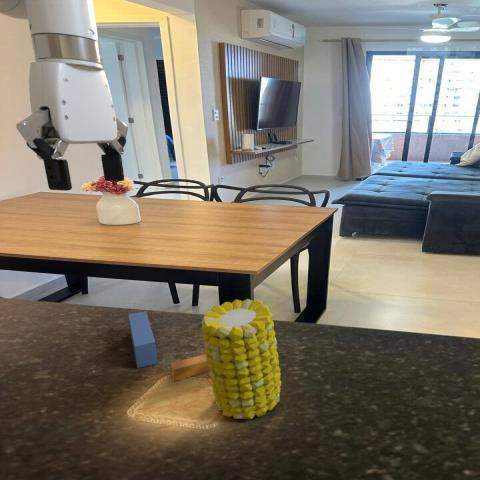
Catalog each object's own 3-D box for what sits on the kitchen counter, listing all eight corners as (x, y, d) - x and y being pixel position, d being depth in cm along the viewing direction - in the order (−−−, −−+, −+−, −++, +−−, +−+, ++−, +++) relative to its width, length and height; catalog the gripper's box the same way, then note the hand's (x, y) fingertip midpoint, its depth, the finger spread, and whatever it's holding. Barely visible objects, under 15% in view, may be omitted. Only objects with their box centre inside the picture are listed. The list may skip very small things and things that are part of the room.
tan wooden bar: (174, 381, 58) (172, 370, 57) (171, 374, 59) (170, 363, 59) (249, 359, 64) (249, 349, 63) (245, 353, 65) (245, 343, 65)
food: (285, 425, 52) (209, 437, 50) (277, 359, 62) (213, 367, 60) (282, 343, 44) (193, 354, 43) (274, 284, 54) (201, 290, 53)
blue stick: (157, 363, 62) (155, 341, 61) (137, 368, 61) (134, 346, 59) (148, 330, 72) (146, 310, 71) (130, 333, 70) (128, 314, 69)
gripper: (96, 66, 59) (112, 177, 64) (-24, 43, 43) (10, 193, 48) (137, 65, 58) (151, 178, 62) (29, 40, 42) (58, 195, 46)
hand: (89, 184), depth 55 cm, fingers open, 9 cm apart
